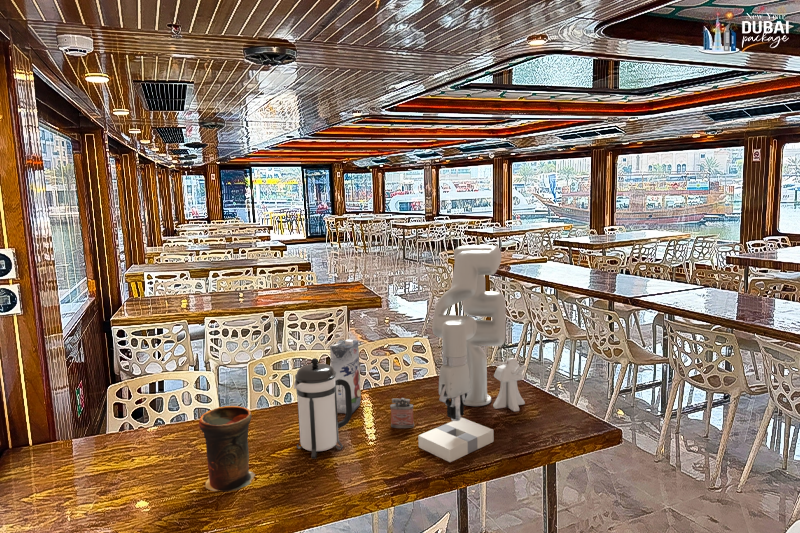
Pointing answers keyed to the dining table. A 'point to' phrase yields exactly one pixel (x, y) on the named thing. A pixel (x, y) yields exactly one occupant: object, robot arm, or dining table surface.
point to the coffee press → (319, 407)
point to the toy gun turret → (509, 384)
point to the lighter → (401, 413)
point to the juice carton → (346, 372)
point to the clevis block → (455, 439)
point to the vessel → (227, 447)
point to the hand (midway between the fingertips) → (455, 415)
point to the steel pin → (457, 408)
